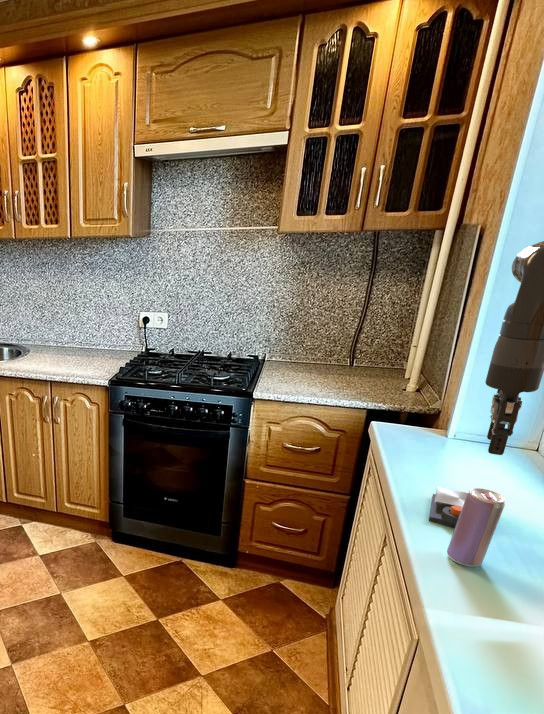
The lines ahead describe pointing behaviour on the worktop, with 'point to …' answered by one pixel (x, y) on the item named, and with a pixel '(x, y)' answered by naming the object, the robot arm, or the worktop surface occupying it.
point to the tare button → (456, 510)
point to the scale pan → (450, 497)
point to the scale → (442, 514)
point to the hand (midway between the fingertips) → (494, 446)
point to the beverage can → (475, 527)
